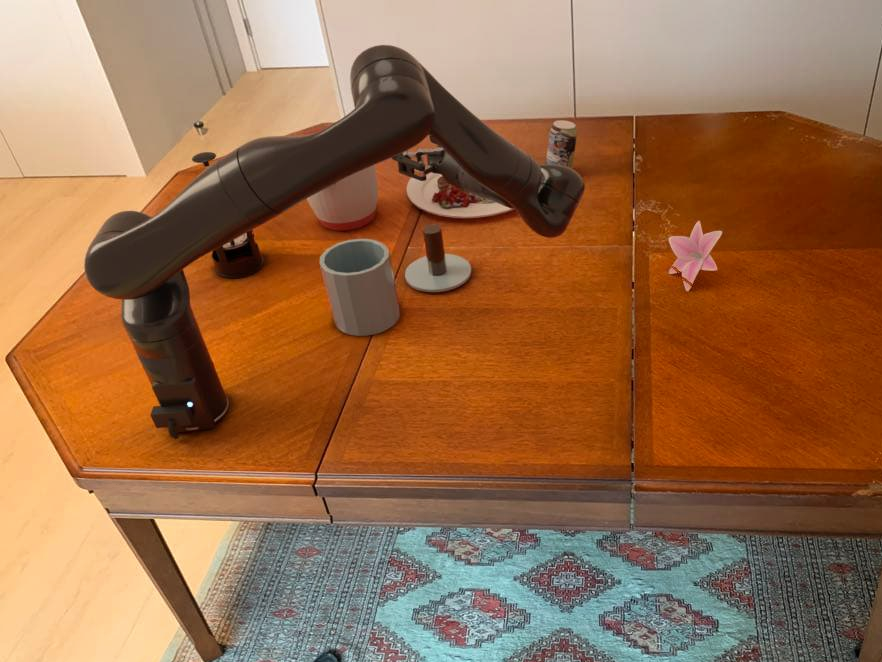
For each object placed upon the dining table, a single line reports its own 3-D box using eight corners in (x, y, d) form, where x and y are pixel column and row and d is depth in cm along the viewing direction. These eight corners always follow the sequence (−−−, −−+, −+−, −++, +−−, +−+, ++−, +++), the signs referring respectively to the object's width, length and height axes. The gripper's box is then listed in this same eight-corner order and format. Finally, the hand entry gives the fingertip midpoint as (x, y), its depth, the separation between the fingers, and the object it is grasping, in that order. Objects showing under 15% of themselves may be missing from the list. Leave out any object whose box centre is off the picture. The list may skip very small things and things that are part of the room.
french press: (248, 282, 155) (212, 170, 139) (204, 278, 156) (163, 167, 141) (276, 250, 163) (244, 141, 148) (233, 247, 165) (197, 138, 150)
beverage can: (541, 172, 185) (539, 121, 177) (569, 165, 187) (569, 114, 179) (552, 183, 181) (551, 131, 173) (582, 176, 183) (582, 124, 175)
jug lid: (473, 291, 150) (468, 243, 143) (405, 298, 149) (397, 250, 142) (469, 256, 159) (464, 209, 152) (405, 262, 158) (397, 215, 151)
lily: (667, 259, 157) (653, 230, 150) (726, 237, 154) (714, 206, 146) (680, 308, 151) (665, 280, 144) (741, 286, 148) (730, 257, 140)
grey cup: (399, 332, 141) (388, 271, 133) (333, 339, 140) (317, 278, 132) (400, 295, 150) (389, 235, 141) (337, 301, 149) (322, 242, 141)
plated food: (557, 166, 187) (556, 152, 185) (520, 231, 165) (519, 216, 163) (436, 156, 194) (434, 142, 191) (386, 216, 172) (383, 202, 170)
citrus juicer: (294, 237, 167) (269, 145, 154) (330, 198, 179) (309, 109, 166) (364, 244, 164) (345, 150, 150) (395, 203, 176) (380, 113, 163)
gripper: (507, 133, 131) (440, 108, 139) (441, 163, 123) (375, 135, 131) (510, 176, 136) (445, 150, 144) (447, 208, 128) (382, 178, 136)
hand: (411, 143), depth 138 cm, fingers open, 8 cm apart
